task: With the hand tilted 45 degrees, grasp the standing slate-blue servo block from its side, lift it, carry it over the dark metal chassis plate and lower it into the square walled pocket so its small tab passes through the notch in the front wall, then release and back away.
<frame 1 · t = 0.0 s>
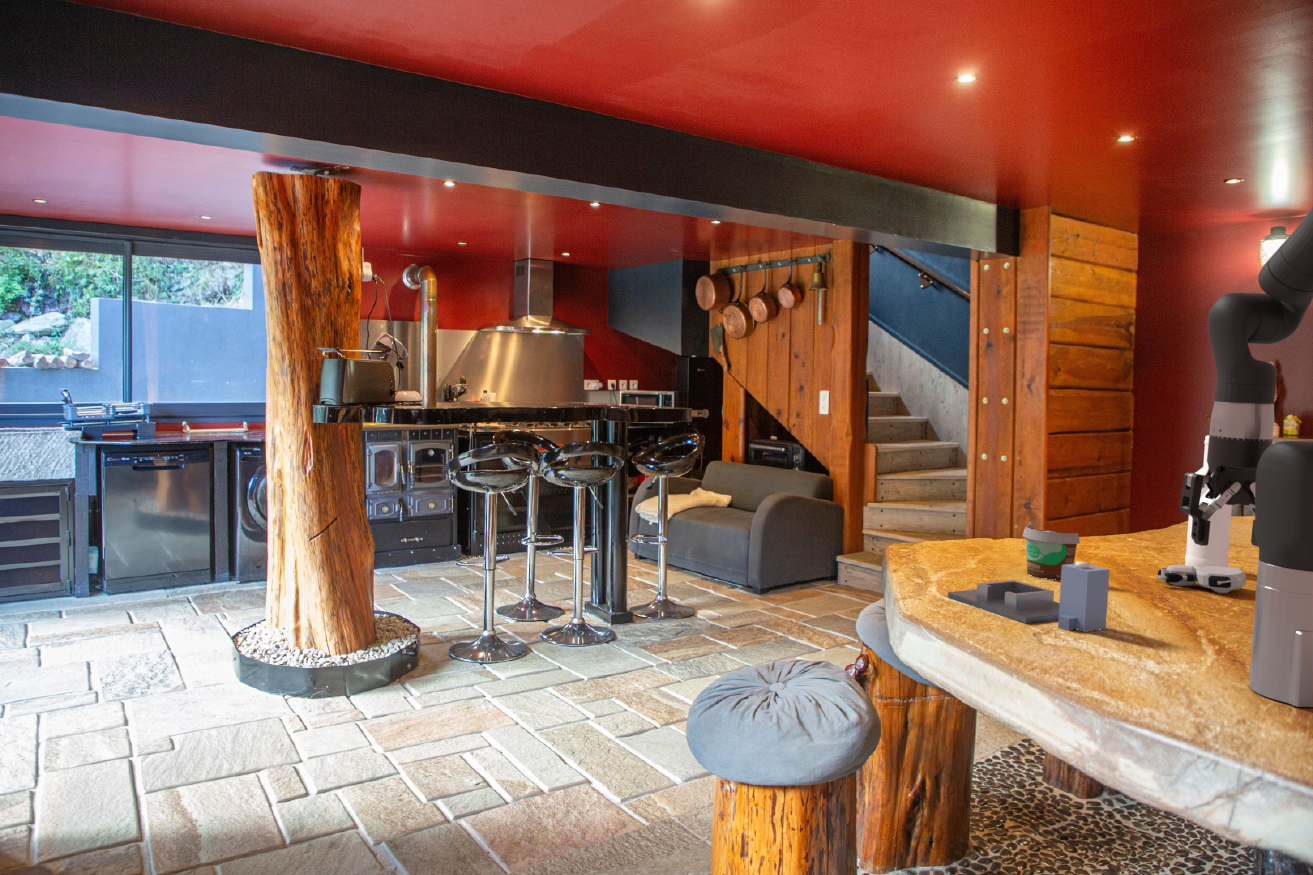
hand: (1229, 545, 123), 17 cm above the table, tool pointing down, fingers open, 8 cm apart
food container: (1041, 577, 178), on the table
robot toy: (1199, 589, 172), on the table
bottle: (1205, 571, 188), on the table
chassis plate: (1014, 606, 153), on the table
servo block: (1081, 626, 141), on the table
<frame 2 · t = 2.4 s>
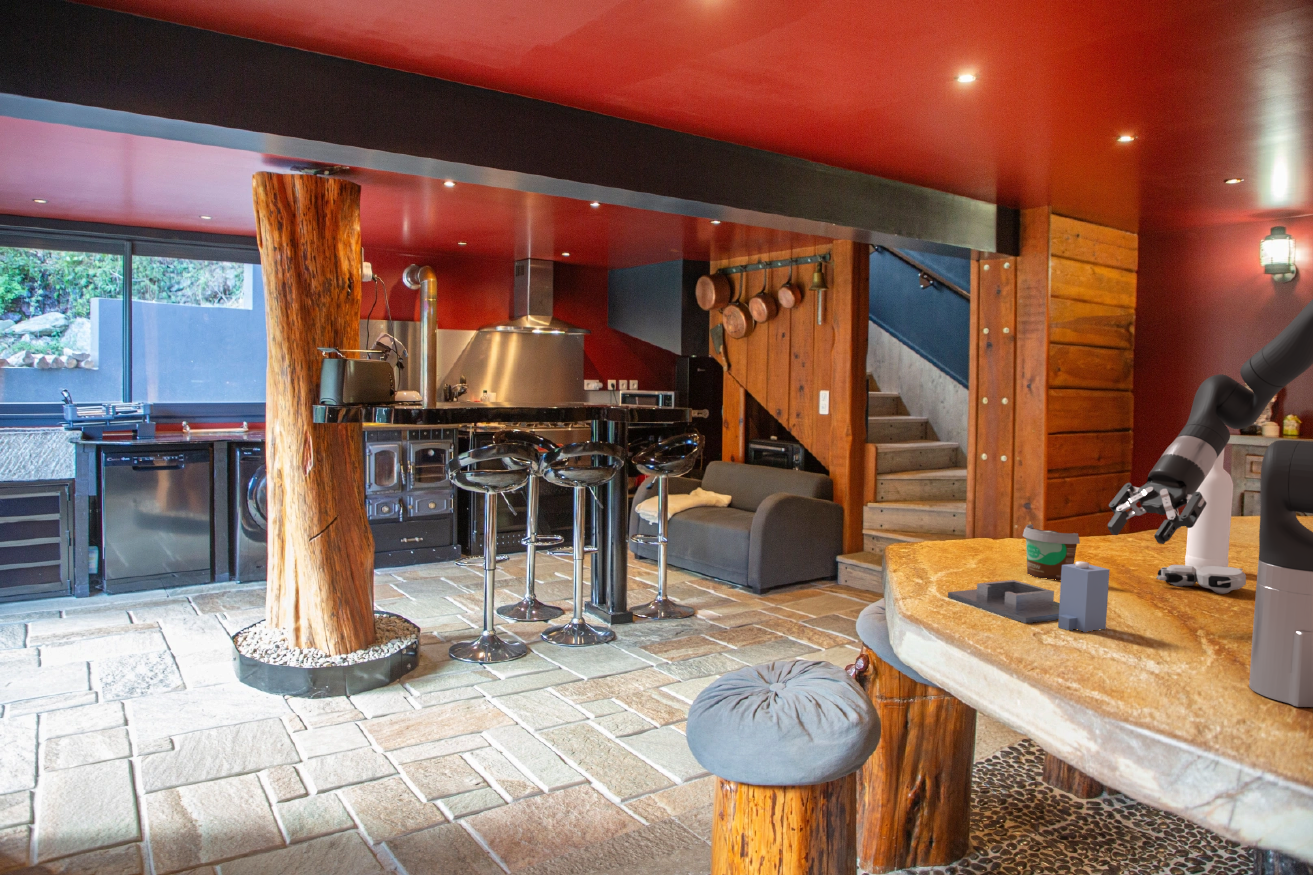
hand: (1134, 536, 145), 15 cm above the table, tool tilted 45°, fingers open, 8 cm apart
nothing on the table moved.
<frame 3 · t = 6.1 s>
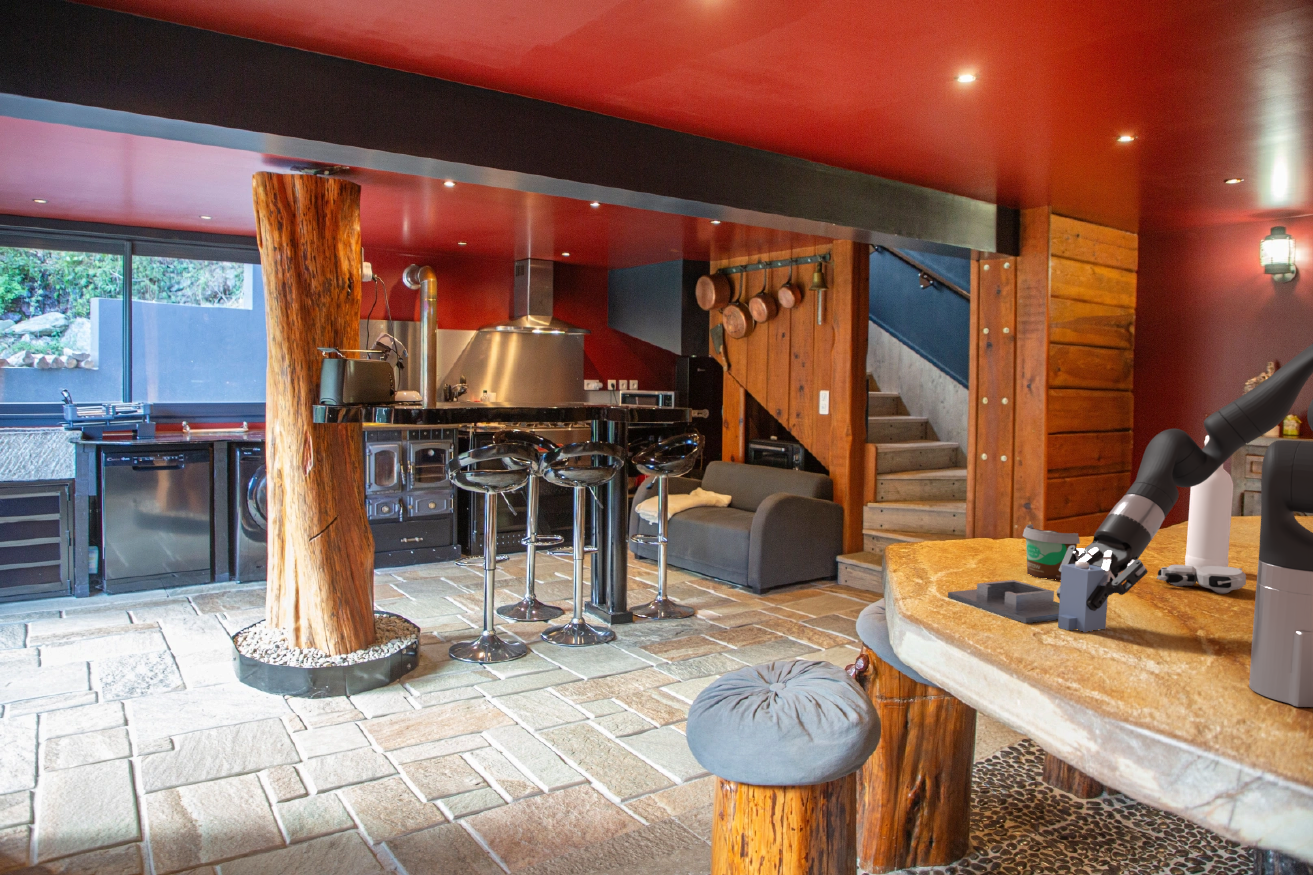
hand: (1075, 602, 140), 4 cm above the table, tool tilted 45°, fingers closed on servo block, 5 cm apart
servo block: (1081, 626, 141), on the table, touching gripper
everything else where it was.
when the fingers open (7 cm above the table, at t = 11.3 s): servo block drops 1 cm, resting on chassis plate.
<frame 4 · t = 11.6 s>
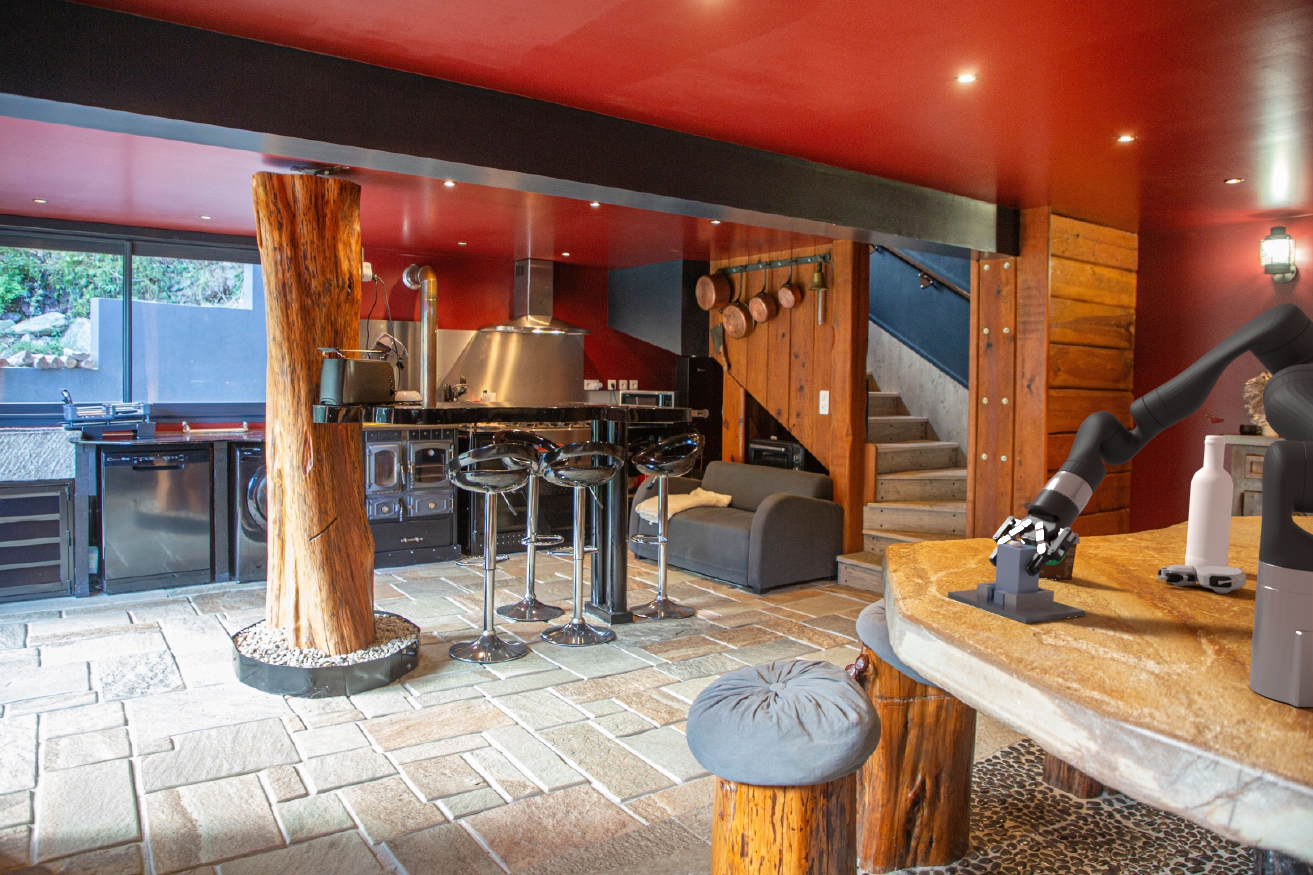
hand: (1010, 568, 151), 7 cm above the table, tool tilted 45°, fingers open, 7 cm apart
servo block: (1015, 601, 152), point 1 cm above the table, touching chassis plate
everything else where it was.
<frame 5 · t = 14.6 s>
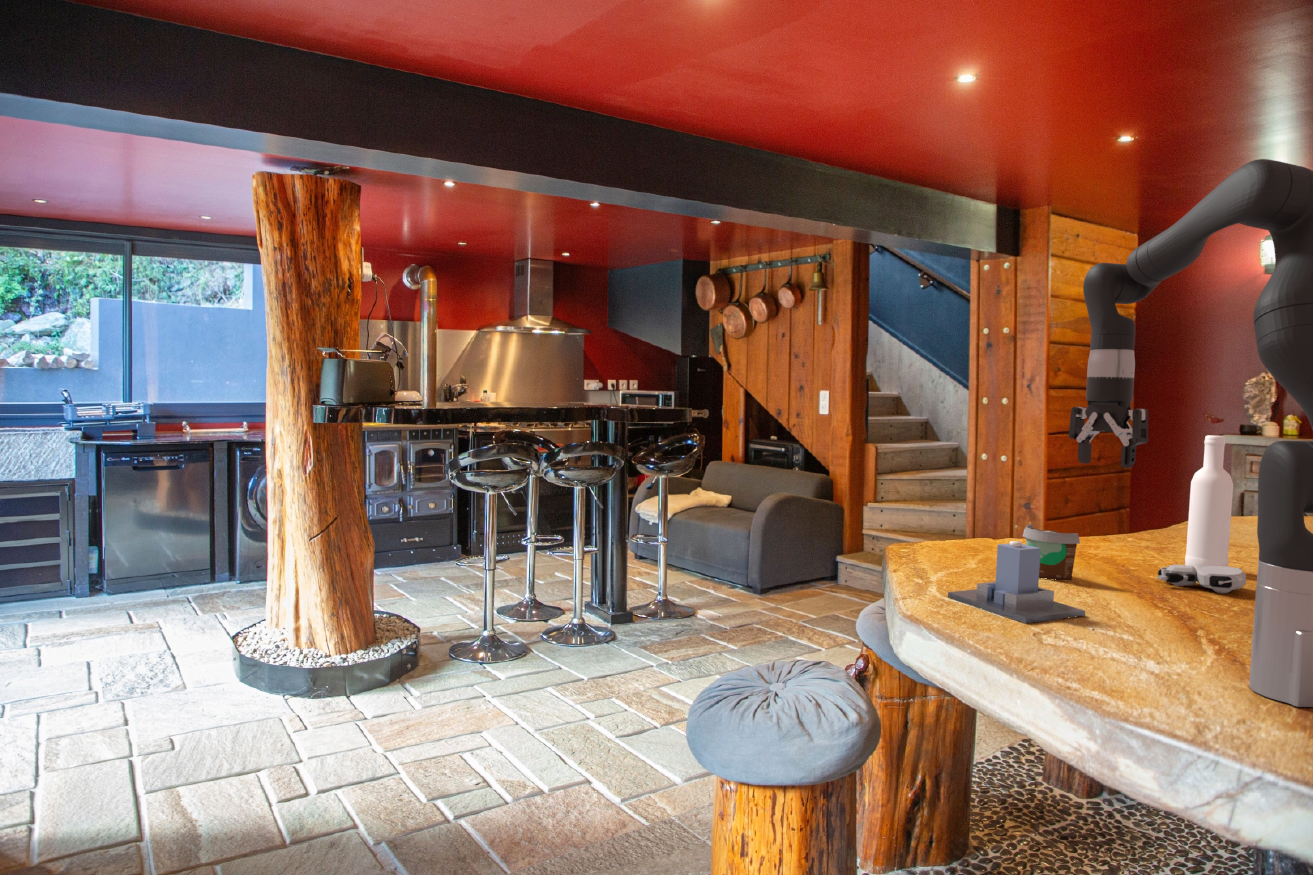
hand: (1105, 465, 154), 26 cm above the table, tool pointing down, fingers open, 8 cm apart
nothing on the table moved.
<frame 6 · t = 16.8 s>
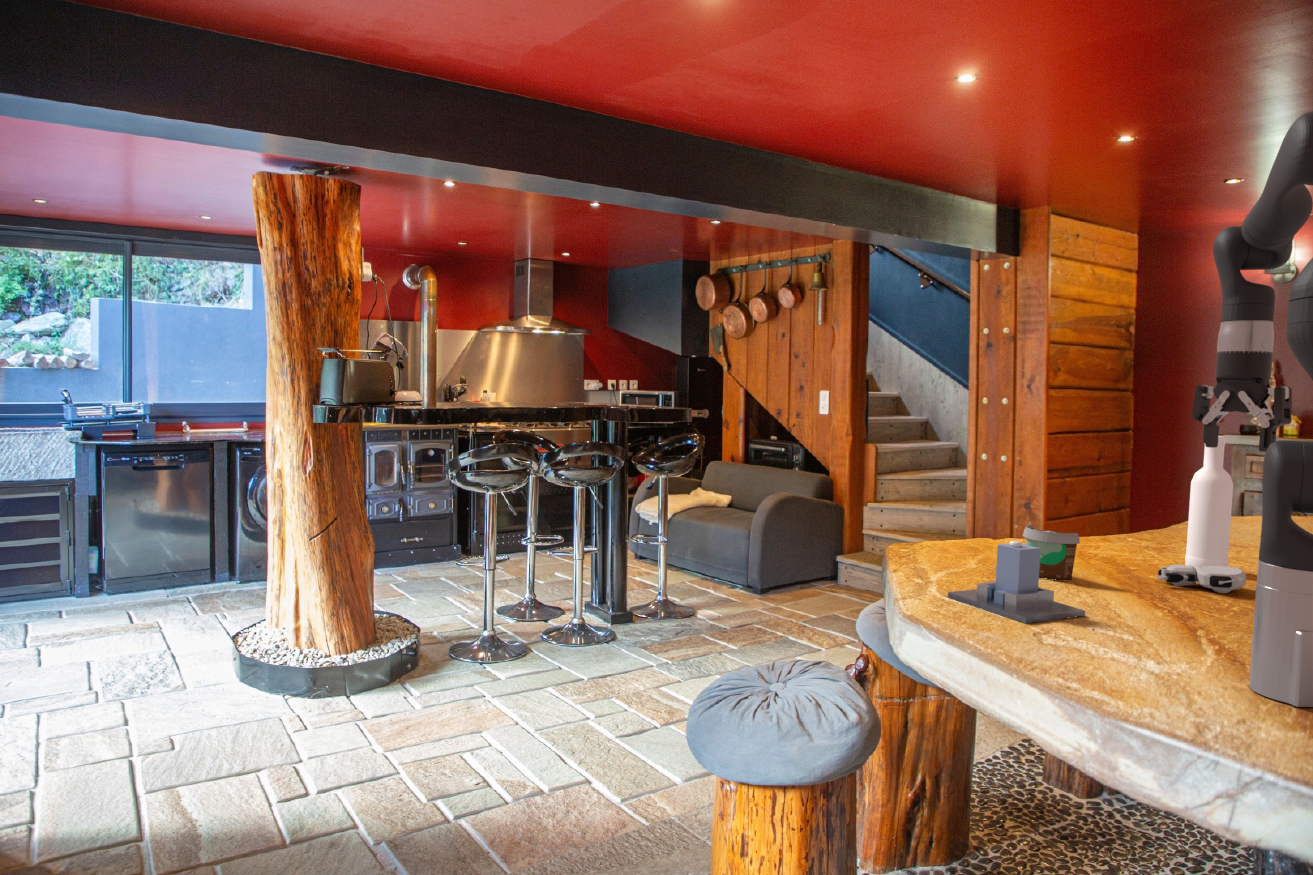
hand: (1237, 449, 139), 30 cm above the table, tool pointing down, fingers open, 8 cm apart
nothing on the table moved.
at the end: servo block 0.3 cm off-centre on the chassis plate, point 1.0 cm above the chassis plate's base; servo block tilted 0°; the gripper is holding nothing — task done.
